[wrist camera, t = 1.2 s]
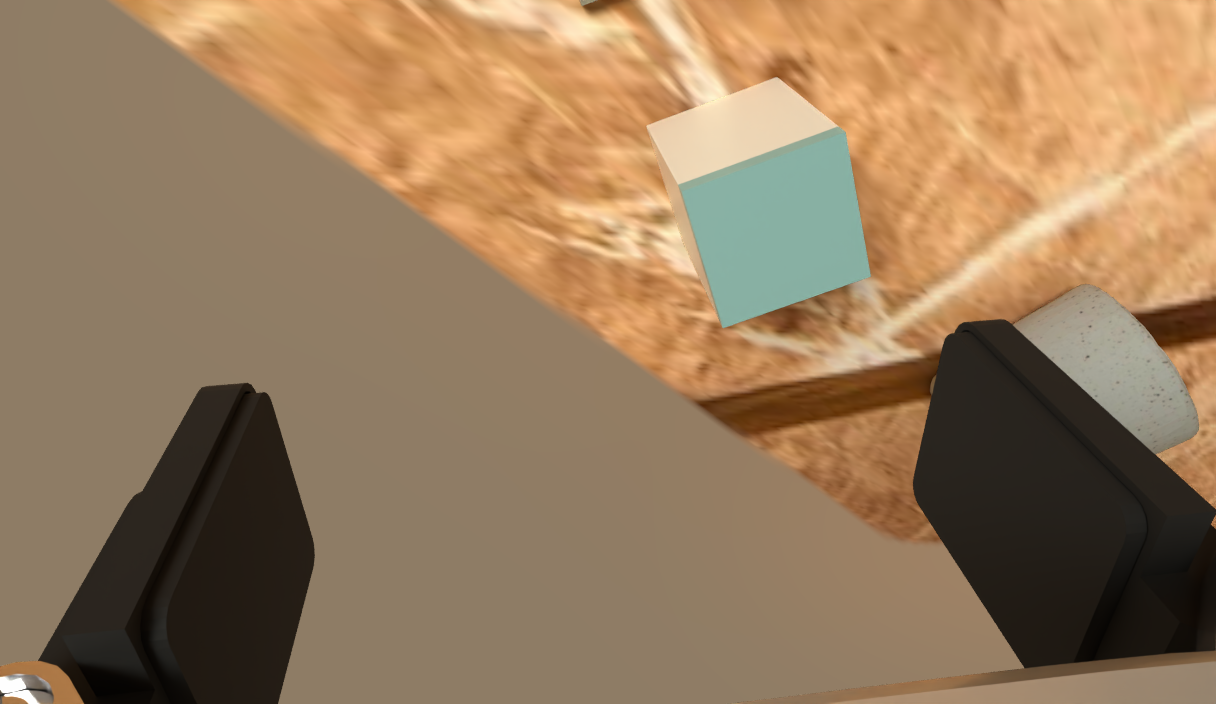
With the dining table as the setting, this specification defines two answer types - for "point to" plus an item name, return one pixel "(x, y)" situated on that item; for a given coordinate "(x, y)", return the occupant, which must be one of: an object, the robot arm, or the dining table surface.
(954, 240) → the dining table surface
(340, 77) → the dining table surface
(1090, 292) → the ceramic mug
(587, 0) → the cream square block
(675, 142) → the cream and teal block
